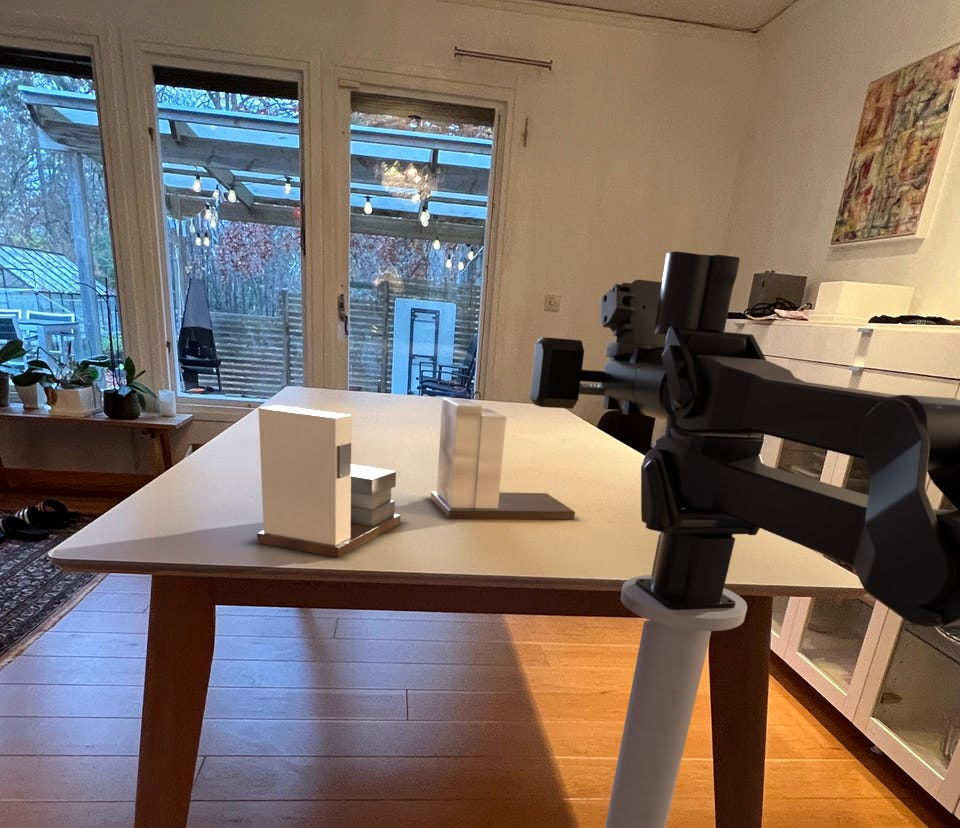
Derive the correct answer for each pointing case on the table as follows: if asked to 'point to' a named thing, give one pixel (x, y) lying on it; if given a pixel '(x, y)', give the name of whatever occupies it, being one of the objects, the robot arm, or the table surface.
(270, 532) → the white book
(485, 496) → the brown and white bookend
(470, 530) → the table surface
